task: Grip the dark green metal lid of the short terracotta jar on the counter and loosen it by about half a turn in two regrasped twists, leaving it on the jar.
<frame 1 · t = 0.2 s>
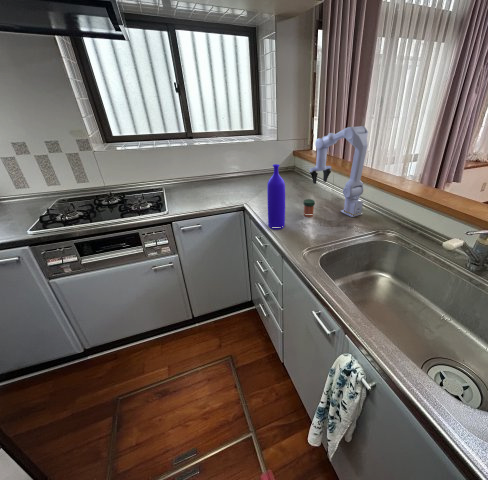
hand: (319, 182, 162), 10 cm above the worktop, tool pointing down, fingers open, 7 cm apart
jar lid: (309, 201, 140), point 8 cm above the worktop, screwed on, not yet turned
jar: (308, 215, 144), on the worktop
bottle: (276, 226, 131), on the worktop
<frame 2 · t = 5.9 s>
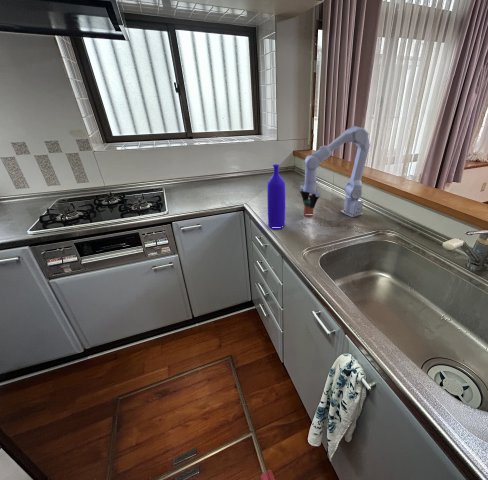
hand: (308, 205, 141), 5 cm above the worktop, tool pointing down, fingers closed on jar lid, 6 cm apart
jar lid: (309, 201, 140), point 8 cm above the worktop, screwed on, not yet turned, touching gripper
everything else where it was.
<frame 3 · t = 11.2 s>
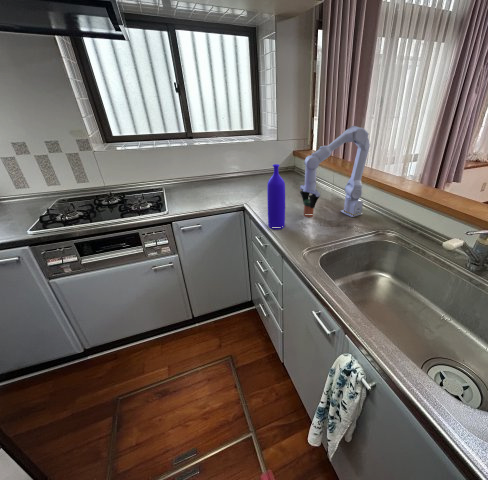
hand: (309, 205, 141), 5 cm above the worktop, tool pointing down, fingers closed on jar lid, 6 cm apart
jar lid: (309, 201, 140), point 8 cm above the worktop, turned 84° so far, risen 0.1 cm, still on its thread, touching gripper
everything else where it was.
when the fingers open (1 cm above the worktop, at t = 14.5 s): jar lid stays where it is, point 8 cm above the worktop.
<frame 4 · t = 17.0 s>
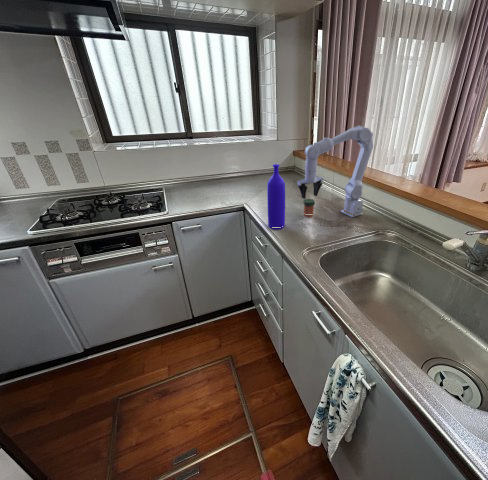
hand: (309, 196, 139), 10 cm above the worktop, tool pointing down, fingers open, 7 cm apart
jar lid: (309, 201, 140), point 8 cm above the worktop, turned 166° so far, risen 0.2 cm, still on its thread
everything else where it was.
at the end: jar lid turned 0.46 turns (still on its thread); jar lid is still on its thread (0.46 turns); jar tilted 0° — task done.
